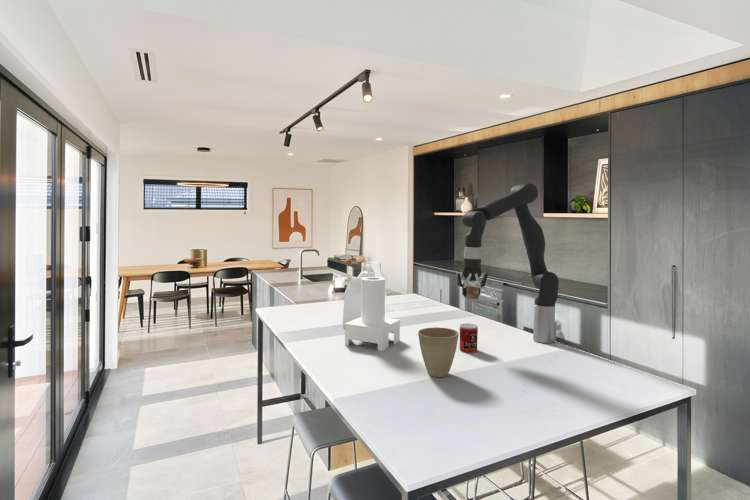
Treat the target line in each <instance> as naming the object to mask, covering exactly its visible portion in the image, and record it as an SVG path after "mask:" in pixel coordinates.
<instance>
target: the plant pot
mask: <svg viewBox="0 0 750 500" xmlns="http://www.w3.org/2000/svg"><path fill="white" fill-rule="evenodd" d="M417 335H418V340H419V347H420V351H421V355H422V359H423V362H424V366H425V369H426V372H427V374H428V375H429V376H431V377H434V378H445V377H447V376H448V375H449V373H450V371H451V367H452V365H453V363H454V359H455V355H456V352H457V346H458V340H459V336H460V332H459V331H457V330H455V329H452V328H448V327H438V326H437V327H425V328H421V329H419V330H418V332H417Z"/></svg>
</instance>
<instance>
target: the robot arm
mask: <svg viewBox="0 0 750 500" xmlns="http://www.w3.org/2000/svg"><path fill="white" fill-rule="evenodd" d="M538 195H539V190H538V188H537V186H536V185H535V184H533V183H531V182H530V183H529V182H527V183H522V184H516V185H514V186H512V187H511V189H510V193H509V195H506V196H503V197H499V198H497V199H495V200H492V201H490V202H488V203H485V204H484V205H483V206H479V207H476V208H472V209H470V210H468V211H466V212H464V214H463V216H462V219H461V222H462V224H463V225H464V226H465V227H467V228H471V229H470V232H469V233H466V234H465V237H464V250H463V264H462V265H463V266H462V268H463V269H462V271H460V272H456V273H455V276H456V281H457V285H458V287H461V294H462V296H463V297H464V298H465V297H466V286H467V285H468V284H469V282H474V283H475V286H477V287H479V296H480V295H481V288H484V287H486V284H487V279H488V277H489V275H488V273H487V272H482V256H483V255H482V254H483V253H482V238H483V235H484V231H485V228H486V225H487V221H491V220H493V219H495V218H497V217H499V216H501V215H503V214H505V213H507V212H509V211H511V210H513V209H514V211H515V214H516V217H517V221H518V224H519V227H520V231H521V236H522V240H523V244H524V247H525V250H526V255H527V259H528V262H529V267H530V273H531V274H530V275H531V280H532V281H531V282H532V283H533V285H534V287H535V288H536V289H538V290H539V291H538V295H537V297H536V298H534V302H533V303H534V308H533V309H534V310H533V311H534V313H533V334H532V336H533V337H532V340H533V341H534V342H537V343H541V344H551V343H556V341H557V323H558V322H557V321H555V319H556V304H557V301H558V296H559V285H560V282H559V278H558V275H557V274H556V273H554V272H552V271H548V268H547V266H546V262H545V251H546V239H545V235H544V231H543V229H542V226H541V225H540V224H539V222H538V221H537V220H536V219H535V218H534V216H533V215H532V213H531V212H530V209H529V204H531V203H533V202H535V201H536V200H537V198H538ZM462 277H464V278H463V281H462ZM480 277H481V281H480Z"/></svg>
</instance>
